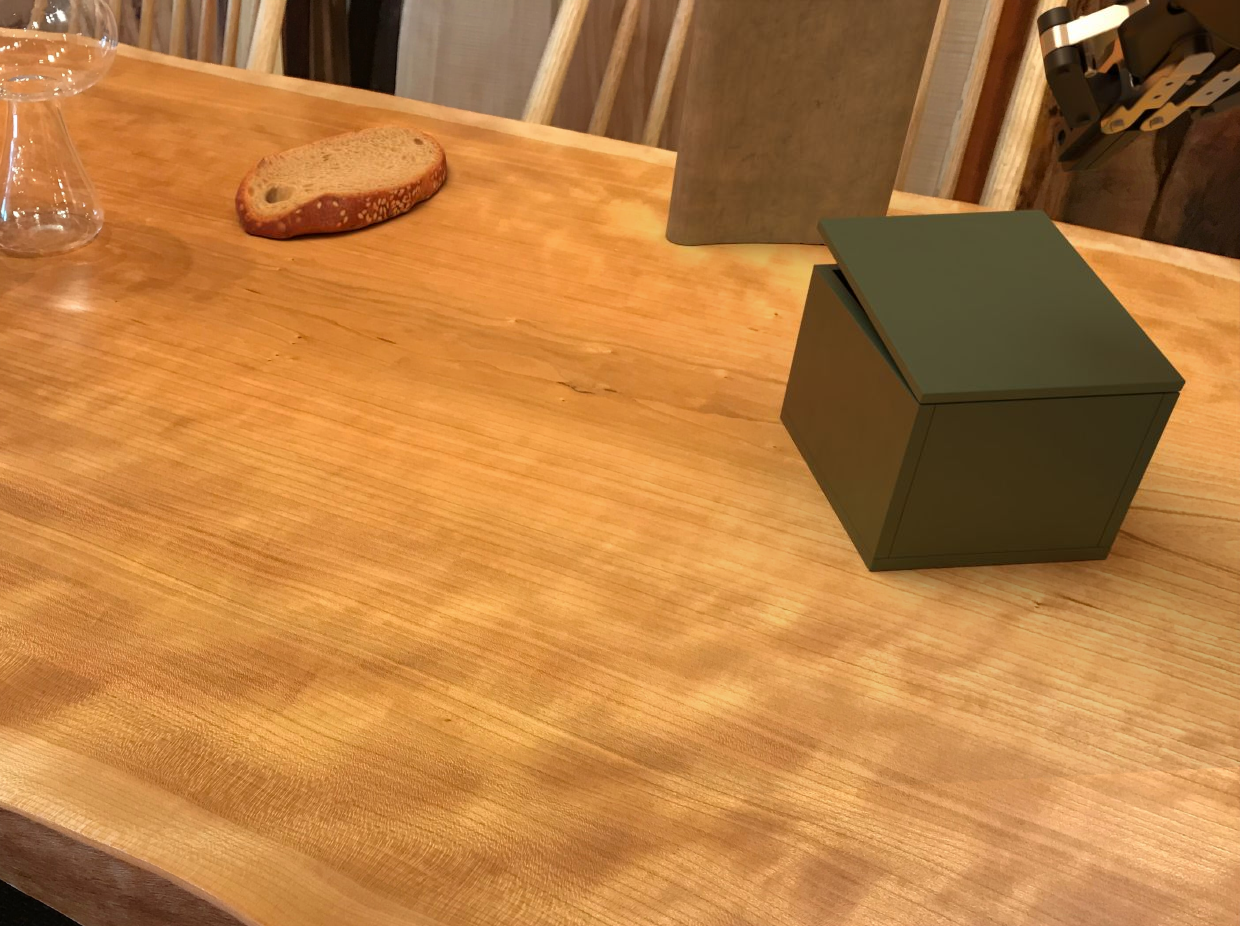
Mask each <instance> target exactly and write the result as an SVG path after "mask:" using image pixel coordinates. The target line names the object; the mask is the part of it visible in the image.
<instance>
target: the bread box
mask: <svg viewBox="0 0 1240 926" xmlns="http://www.w3.org/2000/svg"><path fill="white" fill-rule="evenodd" d="M797 333H798V334H797V338H796V342H795V347H794V352H793V357H792V361H791V366H790V370H789V373H788V379H787V383H786V388H785V392H784V397H783V401H782V406H781V411H780V415H779V418H780V420H781V422H782V424H783V425H784V428H785V429H786V430H787V432H788V434H789V435H790V437H791V438H792V440H793V442H794V443H795V445H796V448H797V449H798V450H799V453H800V454H801V456H802V457H803V459H804V461H805V463H806V465H807V466H808V468H809V469H810V471H811V473H812V475H813V476H814V479H815V480H816V481H817V483H818V485H819V487H820V488H821V490H822V493H823V494H824V495H825V498H826V499H827V500H828V502H829V505H830V506H831V507H832V509H833V511H834V513H835V514H836V516H837V518H838V519H839V521H840V522H841V524H842V526H843V528H844V529H845V532H846V533H847V535H848V536H849V538H850V540H851V541H852V543H853V545H854V547H855V549H856V550H857V552H858V554H859V555H860V557H861V559H862V560H863V562H864V564H865V566H866V567H867V569H868V571H869V572H876V571H878V572H879V571H896V570H898V571H899V570H917V569H918V570H919V569H936V568H939V569H940V568H955V567H957V568H958V567H972V566H973V567H975V566H993V565H994V566H996V565H1014V564H1015V565H1016V564H1035V563H1036V564H1037V563H1054V562H1055V563H1056V562H1070V561H1073V562H1074V561H1075V562H1076V561H1091V560H1092V561H1095V560H1106V559H1108V556H1109V555H1110V552H1111V551H1112V550H1111V549H1112V547H1113V545H1114V543H1115V541H1116V539H1117V537H1118V534H1119V532H1120V531H1121V528H1122V525H1123V523H1124V521H1125V519H1126V517H1127V514H1128V512H1129V509H1130V507H1131V505H1132V503H1133V501H1134V498H1135V496H1136V494H1137V492H1138V490H1139V487H1140V485H1141V482H1142V480H1143V479H1144V476H1145V474H1146V471H1147V469H1148V467H1149V465H1150V463H1151V460H1152V458H1153V456H1154V454H1155V452H1156V449H1157V447H1158V445H1159V443H1160V441H1161V438H1162V436H1163V433H1164V432H1165V429H1166V426H1167V425H1168V422H1169V420H1170V418H1171V415H1172V414H1173V411H1174V410H1175V407H1176V405H1177V402H1178V400H1179V398H1180V396H1181V391H1176V392H1155V393H1134V394H1113V395H1092V396H1071V397H1050V398H1029V399H1008V400H987V401H966V402H945V403H924V404H920V403H919V401H918V400H917V398H916V396H915V395H914V393H913V391H912V390H911V388H910V386H909V384H908V383H907V381H906V379H905V378H904V376H903V374H902V373H901V371H900V369H899V368H898V366H897V364H896V362H895V361H894V359H893V357H892V356H891V354H890V352H889V351H888V349H887V347H886V345H885V344H884V342H883V340H882V339H881V337H880V335H879V334H878V332H877V330H876V329H875V327H874V325H873V323H872V322H871V320H870V318H869V317H868V315H867V313H866V312H865V310H864V308H863V306H862V305H861V303H860V301H859V300H858V298H857V296H856V295H855V293H854V291H853V290H852V288H851V286H850V284H849V283H848V281H847V279H846V278H845V276H844V274H843V273H842V271H841V269H840V268H839V266H838V264H837V263H822V264H821V263H820V264H813V266H812V271H811V275H810V280H809V284H808V289H807V294H806V297H805V302H804V307H803V311H802V315H801V321H800V324H799V329H798V332H797Z"/></svg>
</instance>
